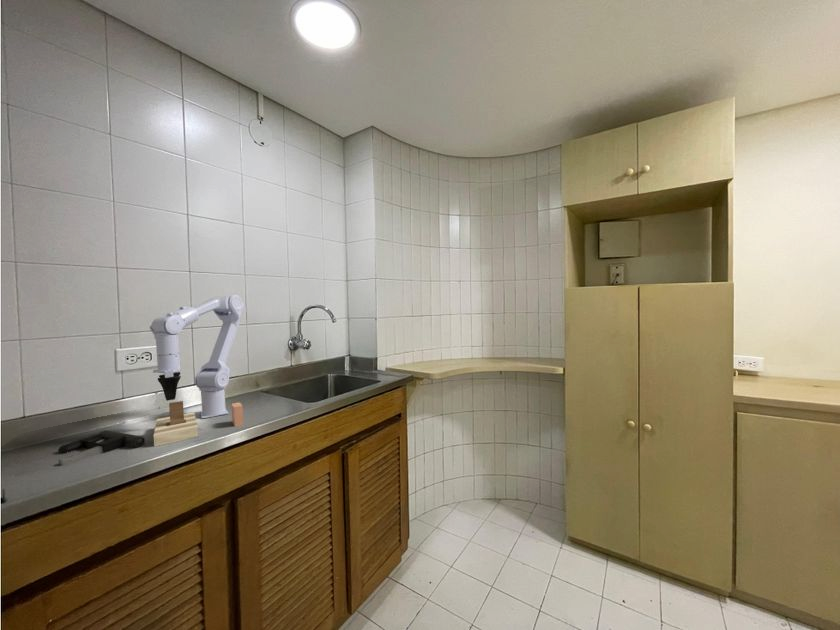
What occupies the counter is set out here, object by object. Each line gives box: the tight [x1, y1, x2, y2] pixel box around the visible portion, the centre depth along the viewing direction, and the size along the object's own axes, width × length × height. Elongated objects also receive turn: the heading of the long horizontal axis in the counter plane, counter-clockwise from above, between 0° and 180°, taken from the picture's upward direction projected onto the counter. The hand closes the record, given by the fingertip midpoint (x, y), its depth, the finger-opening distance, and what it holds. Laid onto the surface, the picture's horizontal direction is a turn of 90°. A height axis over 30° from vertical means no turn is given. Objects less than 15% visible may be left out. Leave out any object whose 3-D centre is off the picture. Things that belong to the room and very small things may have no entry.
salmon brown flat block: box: [231, 402, 244, 427], centre depth 110 cm, size 6×2×6 cm, turn 36°
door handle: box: [58, 430, 148, 466], centre depth 92 cm, size 3×20×16 cm
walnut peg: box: [168, 400, 185, 426], centre depth 104 cm, size 3×3×9 cm
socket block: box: [153, 412, 199, 447], centre depth 104 cm, size 20×10×3 cm, turn 36°
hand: (170, 397), depth 107 cm, fingers open, 7 cm apart
